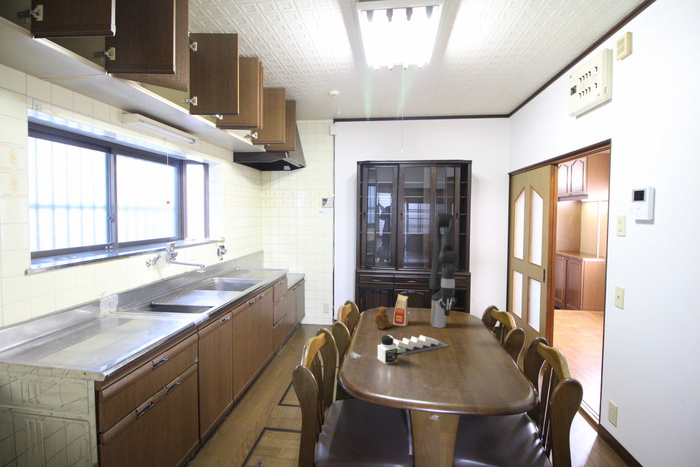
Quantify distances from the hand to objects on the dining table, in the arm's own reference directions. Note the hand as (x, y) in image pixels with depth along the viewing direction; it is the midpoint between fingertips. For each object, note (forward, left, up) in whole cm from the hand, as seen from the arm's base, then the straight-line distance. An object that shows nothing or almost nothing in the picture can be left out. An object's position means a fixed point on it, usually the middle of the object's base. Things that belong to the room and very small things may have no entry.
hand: (446, 315), depth 179 cm
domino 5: (0, -8, -14) cm, 16 cm away
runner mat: (0, -18, -15) cm, 23 cm away
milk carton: (-39, -5, -16) cm, 42 cm away
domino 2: (0, -30, -14) cm, 33 cm away
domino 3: (0, -19, -14) cm, 24 cm away
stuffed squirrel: (-37, -21, -16) cm, 45 cm away
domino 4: (0, -13, -14) cm, 19 cm away
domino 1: (0, -25, -14) cm, 29 cm away
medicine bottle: (+7, -44, -16) cm, 47 cm away
